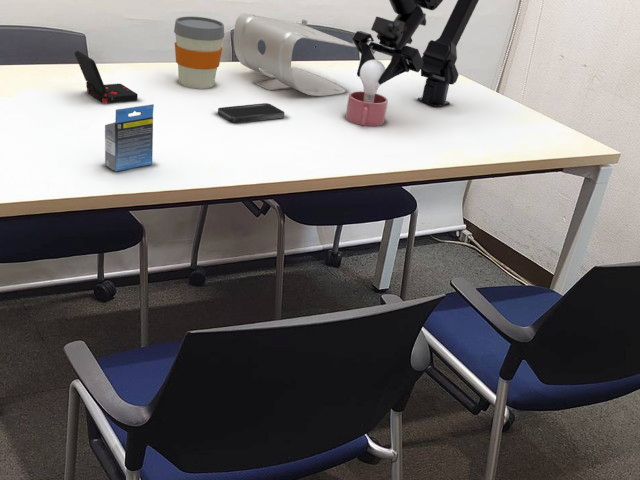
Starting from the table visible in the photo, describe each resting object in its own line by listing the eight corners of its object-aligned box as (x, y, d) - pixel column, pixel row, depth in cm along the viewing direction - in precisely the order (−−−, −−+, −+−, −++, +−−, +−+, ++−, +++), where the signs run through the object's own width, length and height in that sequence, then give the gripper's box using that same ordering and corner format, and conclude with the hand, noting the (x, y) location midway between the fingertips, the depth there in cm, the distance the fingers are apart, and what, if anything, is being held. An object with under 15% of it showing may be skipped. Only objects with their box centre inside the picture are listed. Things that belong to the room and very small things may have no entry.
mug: (347, 110, 222) (350, 89, 219) (385, 117, 221) (389, 95, 218) (342, 125, 212) (345, 103, 209) (382, 132, 211) (386, 109, 208)
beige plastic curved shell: (228, 73, 238) (232, 13, 229) (294, 66, 252) (300, 9, 243) (288, 101, 223) (295, 38, 214) (355, 92, 236) (364, 32, 228)
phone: (216, 108, 207) (268, 102, 215) (215, 112, 208) (267, 107, 216) (234, 118, 202) (286, 112, 210) (233, 123, 203) (286, 117, 211)
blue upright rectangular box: (141, 158, 178) (143, 98, 172) (153, 165, 176) (154, 104, 169) (104, 165, 173) (104, 103, 166) (115, 172, 171) (115, 109, 164)
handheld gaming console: (138, 100, 209) (139, 58, 203) (92, 105, 202) (91, 61, 197) (120, 89, 215) (120, 47, 209) (74, 93, 208) (73, 49, 203)
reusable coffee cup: (230, 85, 229) (234, 25, 220) (200, 93, 219) (204, 31, 211) (192, 73, 234) (195, 14, 225) (161, 81, 224) (164, 19, 216)
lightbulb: (372, 111, 212) (379, 65, 206) (350, 104, 215) (356, 58, 209) (385, 106, 217) (392, 61, 211) (363, 99, 220) (370, 54, 213)
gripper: (362, -5, 210) (327, 47, 209) (425, 13, 201) (388, 68, 200) (377, 26, 220) (343, 76, 219) (438, 45, 210) (403, 98, 209)
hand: (368, 79), depth 211 cm, fingers closed on lightbulb, 6 cm apart
